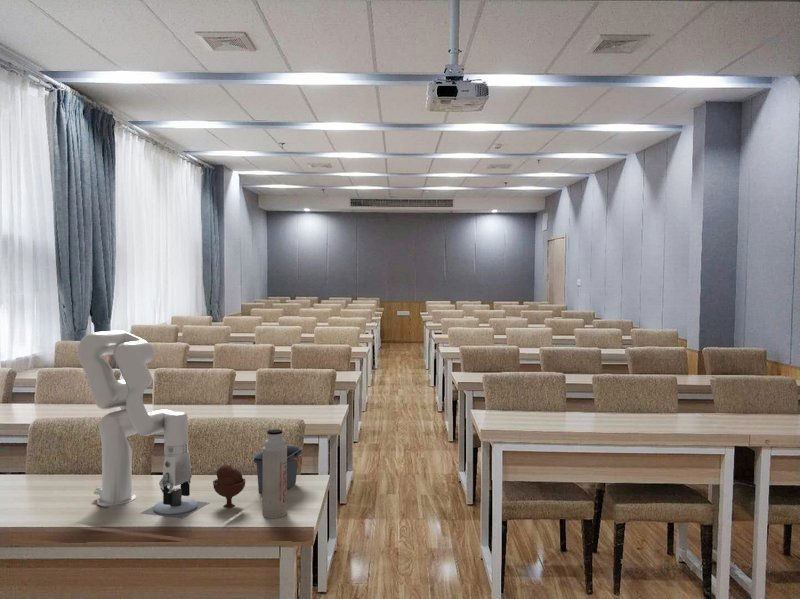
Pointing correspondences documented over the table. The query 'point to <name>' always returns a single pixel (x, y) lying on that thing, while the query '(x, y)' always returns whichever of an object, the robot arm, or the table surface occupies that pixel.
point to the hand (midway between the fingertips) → (176, 499)
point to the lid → (176, 504)
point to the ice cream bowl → (228, 483)
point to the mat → (151, 512)
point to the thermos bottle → (274, 475)
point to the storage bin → (291, 466)
